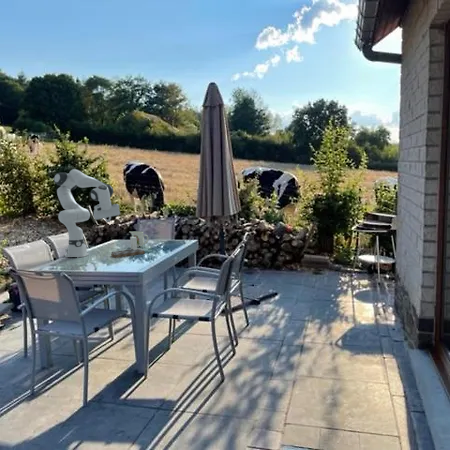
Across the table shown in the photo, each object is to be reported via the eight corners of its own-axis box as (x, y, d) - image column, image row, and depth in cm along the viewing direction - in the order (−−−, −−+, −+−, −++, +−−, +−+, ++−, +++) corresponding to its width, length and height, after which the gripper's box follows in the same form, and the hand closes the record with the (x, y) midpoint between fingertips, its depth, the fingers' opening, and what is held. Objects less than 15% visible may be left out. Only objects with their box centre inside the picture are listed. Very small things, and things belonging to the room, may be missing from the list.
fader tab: (133, 252, 383) (132, 237, 381) (130, 251, 388) (129, 237, 386) (137, 251, 385) (137, 237, 383) (135, 250, 390) (134, 236, 388)
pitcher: (146, 247, 417) (145, 232, 415) (127, 247, 420) (126, 232, 419) (150, 245, 427) (150, 230, 426) (132, 245, 431) (131, 230, 429)
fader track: (115, 257, 372) (115, 253, 372) (111, 256, 381) (110, 251, 380) (144, 253, 386) (144, 249, 386) (139, 252, 394) (139, 247, 394)
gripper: (117, 202, 376) (120, 218, 381) (92, 207, 368) (94, 223, 374) (119, 204, 370) (122, 220, 376) (93, 209, 363) (96, 226, 368)
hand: (108, 222), depth 375 cm, fingers closed
